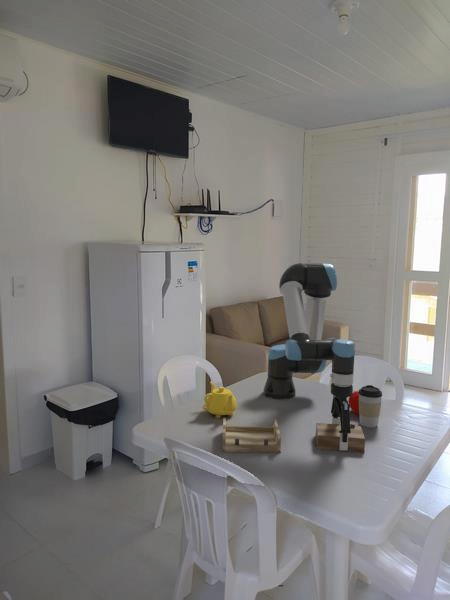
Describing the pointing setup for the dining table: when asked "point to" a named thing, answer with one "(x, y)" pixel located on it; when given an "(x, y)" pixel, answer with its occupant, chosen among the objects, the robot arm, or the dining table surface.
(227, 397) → the teapot
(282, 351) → the robot arm
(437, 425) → the dining table surface
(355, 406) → the tomato
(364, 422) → the coffee cup
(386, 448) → the dining table surface
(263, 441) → the box
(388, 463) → the dining table surface
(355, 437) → the door
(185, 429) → the dining table surface
